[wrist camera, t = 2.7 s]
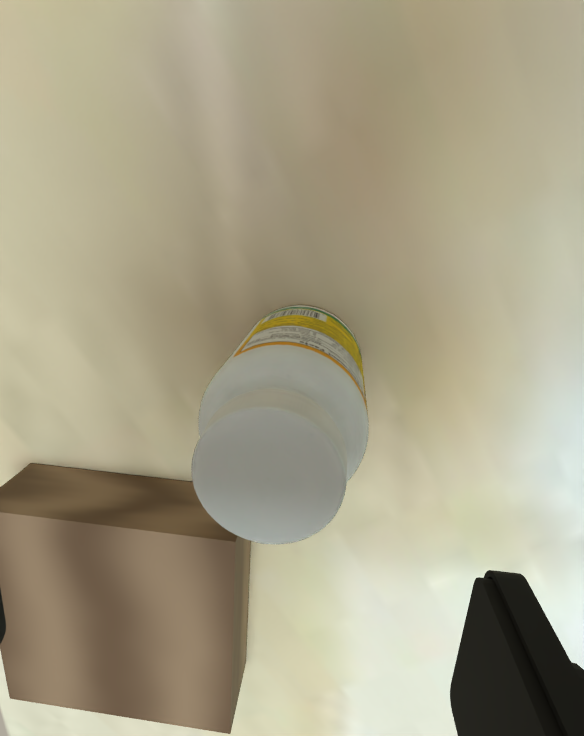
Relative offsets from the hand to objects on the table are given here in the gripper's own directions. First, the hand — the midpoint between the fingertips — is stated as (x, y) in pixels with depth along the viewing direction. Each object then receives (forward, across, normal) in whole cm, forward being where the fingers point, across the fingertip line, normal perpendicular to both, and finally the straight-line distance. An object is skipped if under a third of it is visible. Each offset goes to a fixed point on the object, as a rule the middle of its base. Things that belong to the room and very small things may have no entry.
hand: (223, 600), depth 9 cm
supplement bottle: (+13, 0, -1) cm, 13 cm away
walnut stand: (+14, +8, +12) cm, 20 cm away
